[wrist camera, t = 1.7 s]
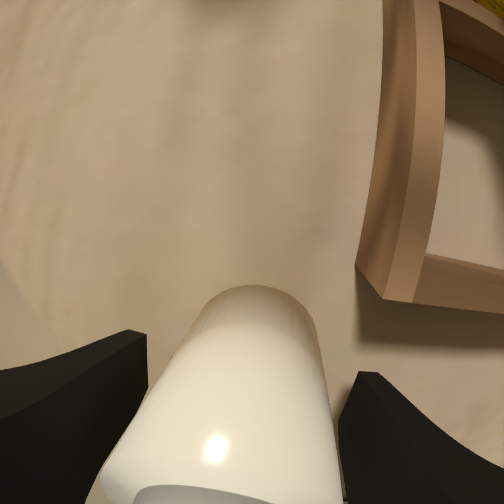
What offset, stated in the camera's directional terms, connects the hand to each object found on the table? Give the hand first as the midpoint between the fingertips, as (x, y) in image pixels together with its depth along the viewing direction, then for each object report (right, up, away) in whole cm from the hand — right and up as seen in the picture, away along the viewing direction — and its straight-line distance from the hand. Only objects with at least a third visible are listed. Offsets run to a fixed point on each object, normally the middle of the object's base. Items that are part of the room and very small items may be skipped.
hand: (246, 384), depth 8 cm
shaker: (0, +1, +2) cm, 2 cm away
